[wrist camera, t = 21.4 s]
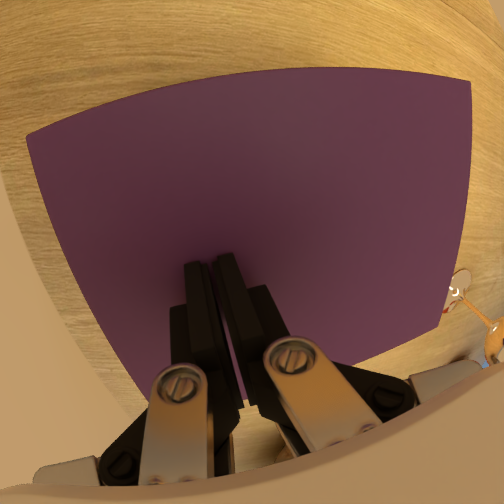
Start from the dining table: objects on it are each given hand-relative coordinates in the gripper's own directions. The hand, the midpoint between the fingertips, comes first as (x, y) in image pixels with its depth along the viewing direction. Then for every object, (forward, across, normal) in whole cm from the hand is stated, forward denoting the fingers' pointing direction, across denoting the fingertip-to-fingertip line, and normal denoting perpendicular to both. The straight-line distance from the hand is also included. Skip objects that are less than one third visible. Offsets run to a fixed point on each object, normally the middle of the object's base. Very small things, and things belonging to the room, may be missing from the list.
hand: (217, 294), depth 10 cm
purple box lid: (+1, -4, 0) cm, 4 cm away
